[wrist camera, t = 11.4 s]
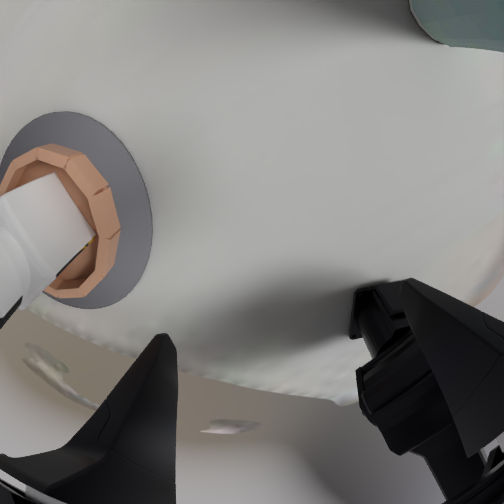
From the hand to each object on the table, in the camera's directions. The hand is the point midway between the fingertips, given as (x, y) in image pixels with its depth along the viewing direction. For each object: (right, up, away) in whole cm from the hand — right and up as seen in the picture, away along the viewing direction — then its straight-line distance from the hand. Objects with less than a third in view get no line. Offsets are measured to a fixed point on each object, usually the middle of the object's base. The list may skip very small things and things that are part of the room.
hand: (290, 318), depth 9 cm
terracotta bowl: (-19, +5, +11) cm, 23 cm away
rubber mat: (-19, +5, +11) cm, 23 cm away
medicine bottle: (-19, +5, +10) cm, 22 cm away
